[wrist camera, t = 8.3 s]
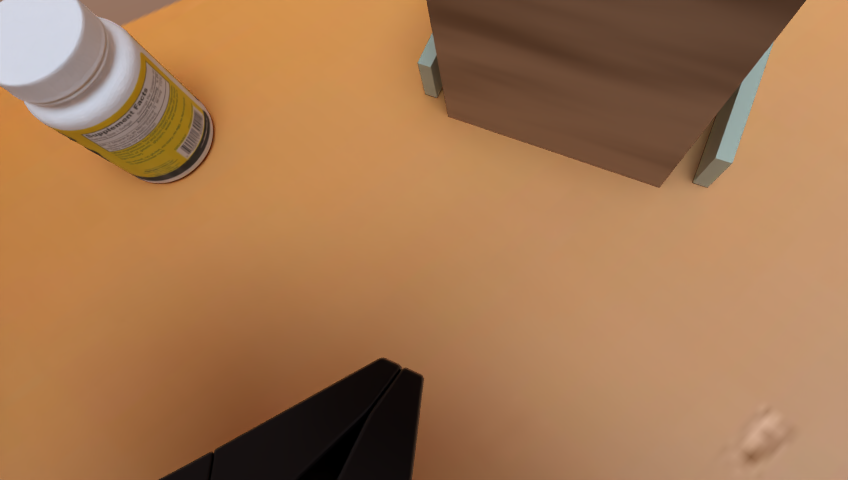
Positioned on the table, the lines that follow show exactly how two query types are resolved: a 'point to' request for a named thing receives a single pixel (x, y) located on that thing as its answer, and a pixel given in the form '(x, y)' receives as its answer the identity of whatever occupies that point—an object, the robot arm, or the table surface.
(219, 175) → the table surface
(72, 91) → the supplement bottle
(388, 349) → the table surface
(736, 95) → the light blue square frame
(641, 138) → the walnut block
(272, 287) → the table surface
